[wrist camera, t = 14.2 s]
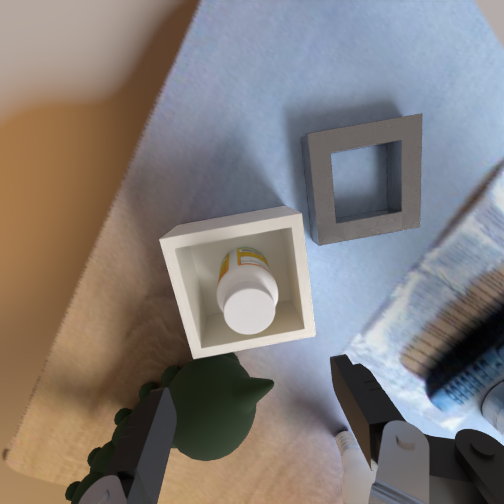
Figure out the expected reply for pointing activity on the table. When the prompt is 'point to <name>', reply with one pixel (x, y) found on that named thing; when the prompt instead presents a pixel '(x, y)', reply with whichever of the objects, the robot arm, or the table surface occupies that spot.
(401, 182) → the socket collar
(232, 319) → the supplement bottle
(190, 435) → the toy figurine
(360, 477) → the lightbulb
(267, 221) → the bin
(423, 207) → the table surface
